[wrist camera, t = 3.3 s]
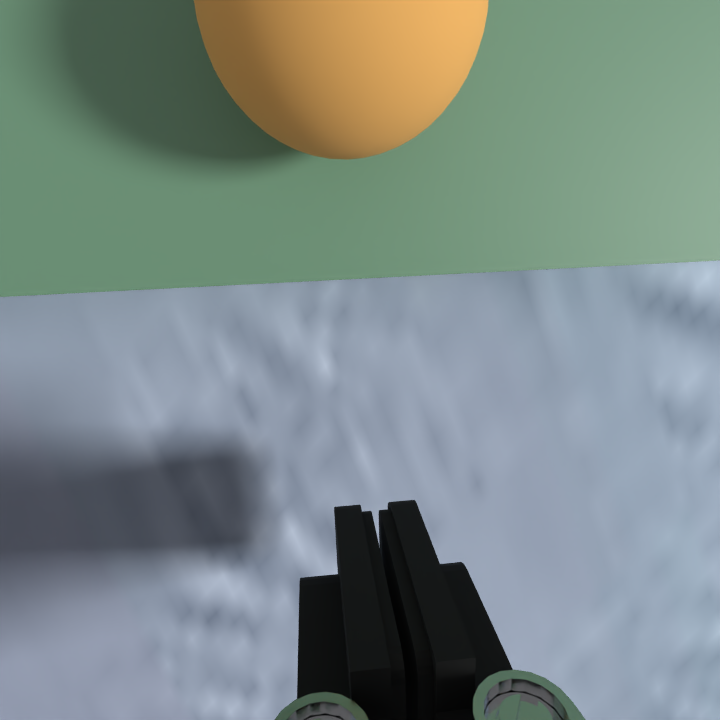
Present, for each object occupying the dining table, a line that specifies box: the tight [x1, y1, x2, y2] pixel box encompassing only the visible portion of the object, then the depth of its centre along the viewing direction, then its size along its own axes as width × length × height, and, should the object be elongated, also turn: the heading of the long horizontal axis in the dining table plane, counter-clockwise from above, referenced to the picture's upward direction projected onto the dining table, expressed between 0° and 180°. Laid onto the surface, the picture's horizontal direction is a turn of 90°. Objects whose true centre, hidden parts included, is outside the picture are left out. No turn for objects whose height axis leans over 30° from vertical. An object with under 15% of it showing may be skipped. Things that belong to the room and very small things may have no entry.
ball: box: [194, 0, 488, 160], centre depth 7 cm, size 4×4×4 cm
